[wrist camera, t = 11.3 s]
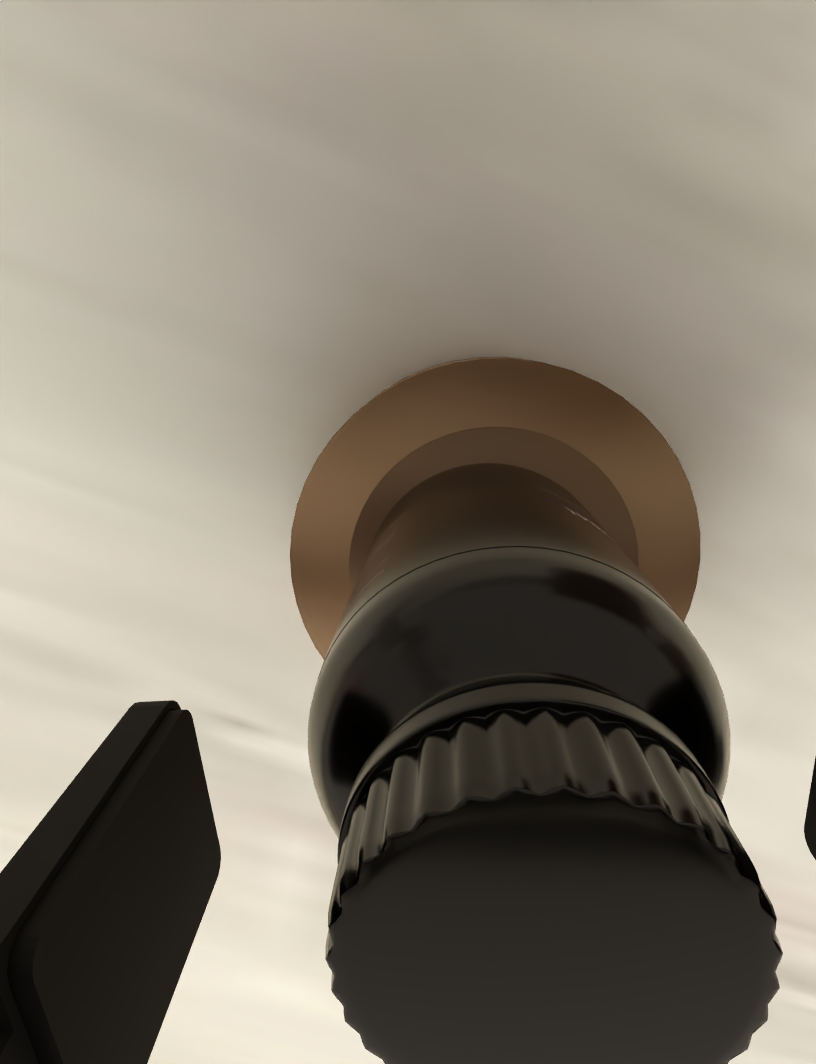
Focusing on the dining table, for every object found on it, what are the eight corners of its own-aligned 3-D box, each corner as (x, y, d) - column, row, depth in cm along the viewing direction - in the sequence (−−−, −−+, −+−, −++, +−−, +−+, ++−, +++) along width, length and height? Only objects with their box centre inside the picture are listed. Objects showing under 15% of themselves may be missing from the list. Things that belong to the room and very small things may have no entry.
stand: (281, 371, 19) (261, 375, 16) (686, 342, 18) (719, 342, 16) (325, 712, 22) (313, 751, 20) (664, 701, 21) (689, 741, 19)
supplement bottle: (636, 490, 17) (1053, 807, 5) (558, 697, 19) (738, 1246, 7) (396, 427, 17) (297, 619, 5) (343, 643, 19) (189, 1120, 7)
